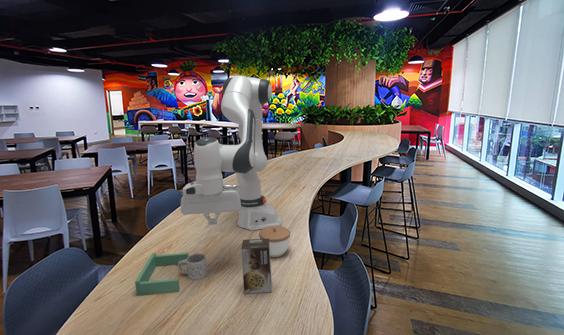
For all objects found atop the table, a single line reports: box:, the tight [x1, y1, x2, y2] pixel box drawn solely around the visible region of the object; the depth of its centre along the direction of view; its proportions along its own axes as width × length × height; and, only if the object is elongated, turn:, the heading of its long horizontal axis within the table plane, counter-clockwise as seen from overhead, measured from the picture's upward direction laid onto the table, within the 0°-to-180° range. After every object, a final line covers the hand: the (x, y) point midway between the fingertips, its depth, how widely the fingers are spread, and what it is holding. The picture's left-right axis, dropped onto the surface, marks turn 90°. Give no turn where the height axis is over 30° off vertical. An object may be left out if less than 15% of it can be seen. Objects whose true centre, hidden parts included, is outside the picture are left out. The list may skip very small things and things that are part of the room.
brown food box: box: [240, 238, 273, 294], centre depth 96 cm, size 9×6×16 cm
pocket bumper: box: [134, 252, 190, 296], centre depth 104 cm, size 13×18×5 cm
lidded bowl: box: [258, 225, 291, 258], centre depth 119 cm, size 13×13×11 cm
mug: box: [177, 253, 208, 281], centre depth 105 cm, size 10×7×7 cm, turn 89°
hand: (213, 224), depth 103 cm, fingers closed
